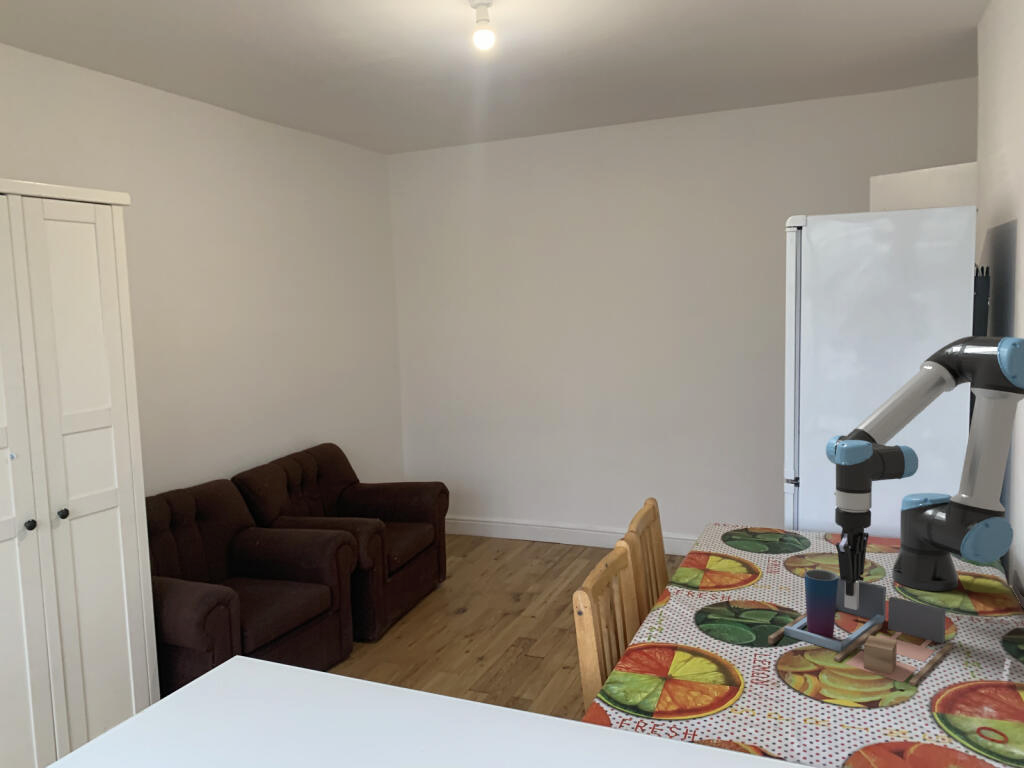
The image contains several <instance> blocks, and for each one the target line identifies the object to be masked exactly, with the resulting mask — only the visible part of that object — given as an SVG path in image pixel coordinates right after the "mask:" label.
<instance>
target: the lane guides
mask: <svg viewBox="0 0 1024 768" xmlns="http://www.w3.org/2000/svg"><path fill="white" fill-rule="evenodd" d="M805 617H807V612H805V613H802V615H800V616H798V617H797V618H795V619H793V620H792V621H790V622H789V623H787V624H786V625H784V626H782V627H781V628H780V629H778V630H776V631H775V632H773V633H772V634H770V635H768V637H767V644H769V645H775V643H778V642H779V641H780V640H782V639H783V638H784V637H785V636H784V627H786V626H790V627H792V626H793V625H795V624H796V623H798V622H799V621H801V620H802V619H804V618H805ZM883 627H884V626H883V623H881V624H880V623H877V624H876V625H875V626H874V627H872V628H871V629H870V630H868V631H867V632H866V633H865V634H863V635H862V636H861V637H860V638H858V639H857V640H856V641H854V642H853V643H852V644H851V645H849V646H848V647H847V648H845V649H844V650H843V651H842V652H839V653H838V654H836V655H835V656H834V657H833V661H834V662H837V663H839V662H841V661H843V659H845V658H846V657H847V656H849V654H851V653H852V652H854V650H856V649H857V648H859V647H860V646H861V645H862V644H863V643H865V642H866V641H867V639H868V637H869V635H872V636H874V635H875V633H878V631H879V630H881V629H883ZM954 646H955V643H953V642H950V641H948V642H947V643H946V644H945V645H944V646H943V647H942V648H941V649H940V650H939V651H938V652H937V653H935V655H933V657H932V658H931V659H930V660H929V661H927V662H926V664H925V665H924V666H923V667H922V668H920V670H919V671H917V673H915V675H913V676H912V678H911V679H910V680H909V681H908V685H910V686H914V687H915V686H916V685H917V684H919V683H920V681H921V680H922V679H924V677H926V675H928V673H929V672H930V671H932V669H933V668H934V667H935V666H936V665H937V664H938V663H939V662H940V661H941V660H942V659H943V658H944V657H945V656H946V655H947V654H948V653H949V652H950V651H951V650H952V649H953V648H954Z"/></svg>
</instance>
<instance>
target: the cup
mask: <svg viewBox="0 0 1024 768" xmlns="http://www.w3.org/2000/svg"><path fill="white" fill-rule="evenodd" d="M838 576H839V575H838V574H837V573H836V572H834V571H830V570H826V569H818V568H816V569H808V570H806V571H805V572H804V590H805V608H806V609H805V610H806V612H807V625H806V626H807V632H810V633H813V634H817V635H820V636H823V637H827V638H830V639H834V631H835V621H836V620H835V619H836V611H837V610H836V599H837V587H838ZM806 612H805V613H806Z"/></svg>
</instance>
